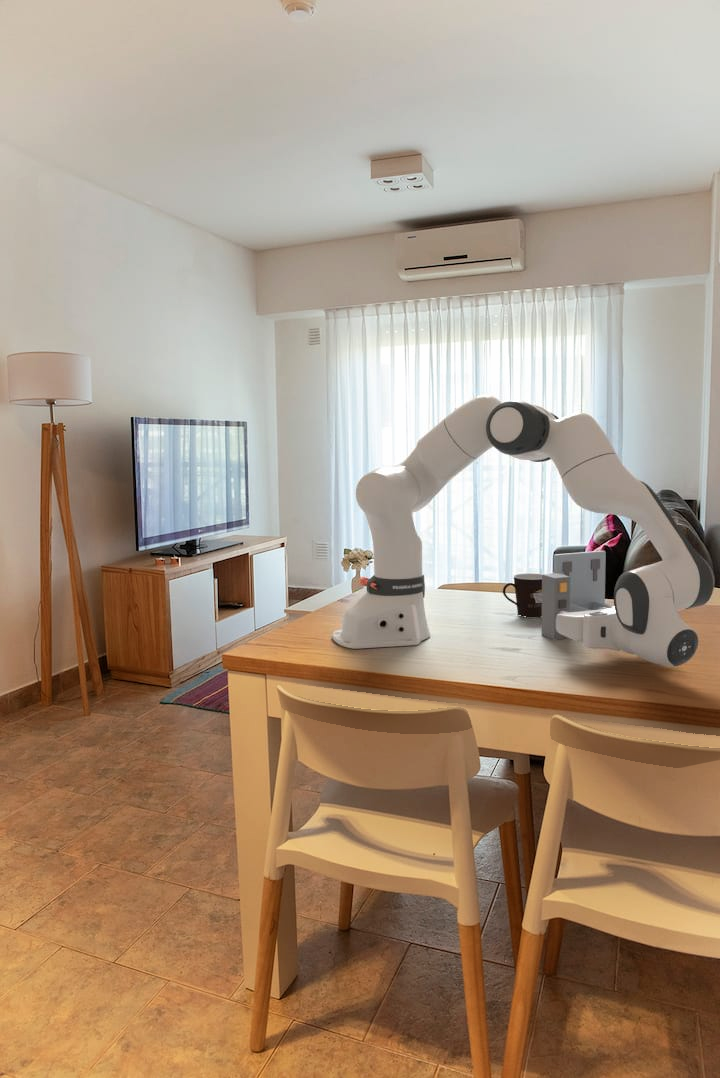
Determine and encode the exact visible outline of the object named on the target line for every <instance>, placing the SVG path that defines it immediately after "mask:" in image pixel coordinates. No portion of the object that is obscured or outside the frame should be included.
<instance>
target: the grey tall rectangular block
mask: <svg viewBox="0 0 720 1078" xmlns="http://www.w3.org/2000/svg"><path fill="white" fill-rule="evenodd" d="M561 611H568V612H570V577H569V576H566V575H562V574H558V573H554V574H553V573H546V574H545V573H544V574H543V575H542V617H541V634H542V635H541V636H543V635H544V636H543V637H545V636H546V638H548V637H549V639H550V638H551V639H550V640H553V639H554V640H553V641H556V640H555V639H559V640H565V639H564V638H567V639H569V638H568V637H566V636H564V635H562V634H560V633H558V632H557V630H556V616H557V614H560V612H561Z"/></svg>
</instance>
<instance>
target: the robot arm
mask: <svg viewBox="0 0 720 1078" xmlns="http://www.w3.org/2000/svg"><path fill="white" fill-rule="evenodd" d="M492 448H495V449H496V450H498V452H500V453H502V454H504V455H508V456H509V457H512V458H514V459H518V460H521V461H523V460H524V461H530V462H534V463H535V462H536V463H541V462H547V461H550V460H551V461H552V462H553V463H554V465H555V467H556V469H557V471H558V474H559V475H560V478H561V480H562V483H563V484H564V487H565V489H566V493H568V495H569V496H570V498H571V500H572V501H573V503H575V505H577V506H578V507H579V508H582V509H584V510H586V511H588V512H593V513H596V514H605V515H615V516H619V517H624V518H627V519H629V520H632V521H633V522H635V523H636V524H637V525H638V526H639V527H641V529H642V530H643V532H644V533H645V535H646V536H647V538H648V539H649V541H650V542H651V544H652V546H653V547H654V548H655V550H656V551H657V553H658V554H659V556H660V557H661V560H660V561H657V562H653V563H652V564H648V565H643V566H640V567H637V568H634V569H631V570H628V571H625V572H623V573H621V575H620V576H619V577H618V578H617V581H616V583H615V586H614V592H613V605H612V606H613V607H612V608H606V607H600V608H598V610H589V611H580V612H568V611H561V612H560V614H557V616H556V630H557V632H558V633H560V634H562V635H564V636H566V637H568V638H567V639H570V640H573V641H575V642H581V643H582V644H583V645H582V646H583V647H585V648H588V649H609V650H613V651H622V652H623V653H626V654H629V655H635V656H637V657H638V658H639V659H642V660H644V661H647V662H650V663H652V664H656V665H659V666H665V667H672V668H673V667H674V668H675V667H679V666H682V665H683V664H686V663H687V662H688V661H690V660H691V659H692V658H693V657H694V655H695V653H696V652H697V650H698V647H699V635H698V633H697V632H696V631H695V630H694V629H693V628H692V627H691V626H689V625H688V624H686V622H685V621H684V620H683V619H682V617H681V615H680V614H679V613H678V612H680V611H683V610H689V609H693V608H697V607H701V606H704V605H706V604H707V603H708V602H709V600H710V599H711V598H712V594H713V593H714V589H715V584H716V582H715V581H716V579H715V574H714V571H713V569H712V567H711V566H710V564H709V563H708V562H707V561H706V560H705V558H703V556H702V555H701V554H699V552H698V551H697V550H696V549H695V548H694V547H693V545H692V543H690V541H689V539H687V537H686V536H685V534H684V533H683V531H682V529H681V528H680V527H679V525H678V524H677V522H676V521H675V520H674V518H673V517H672V515H671V514H670V512H669V511H668V509H667V508H666V506H665V505H664V503H663V502H662V500H661V499H660V498H659V496H658V495H657V493H656V492H655V491H654V490H653V489H652V487H650V486H649V485H648V484H647V483H645V482H644V481H642V480H640V479H638V478H636V477H635V476H634V475H633V474H632V473H631V472H630V471H629V470H628V469H627V467H625V466H624V465H623V463H622V461H621V460H620V458H619V457H618V454H617V452H616V451H615V448H614V446H613V445H612V443H611V441H610V440H609V438H608V437H607V435H606V433H605V431H604V430H603V429H602V428H601V425H599V423H598V422H597V421H596V420H595V418H594V417H592V416H591V415H590V414H588V413H585V412H574V413H571V414H570V413H569V414H567V415H565V416H563V417H560V418H559V417H558V416H557V415H555V414H554V413H553V412H550V411H549V410H547V409H545V408H543V407H541V406H539V405H536V404H535V405H534V404H530V403H529V402H526V401H523V400H508V401H504V402H502V401H500V400H499V399H498V398H497V397H495V396H492V395H490V394H481V395H480V394H479V395H477V396H476V397H474V398H472V399H470V400H468V401H467V402H465V403H464V404H462V405H461V406H459V407H458V408H456V409H455V410H453V411H452V412H451V413H450V414H448V415H447V416H446V417H445V418H443V419H442V420H441V421H440V422H438V424H436V425H435V426H434V427H433V428H432V429H431V430H430V431H428V432H427V433H426V434H424V435H423V437H421V438H420V439H419V440H418V442H417V443H416V446H415V448H414V449H413V450H412V452H411V453H410V454H409V456H408V457H407V458H405V460H403V462H401V463H399V464H397V465H395V466H387V467H378V468H375V469H373V470H371V471H369V472H368V473H366V474H365V475H363V476H362V477H361V478H360V479H359V481H358V483H357V484H356V487H355V499H356V503H357V504H358V506H359V508H360V509H361V510H362V512H363V513H364V514H365V517H366V521H367V523H368V526H369V530H370V533H371V539H372V547H373V549H372V550H373V570H374V571H373V572H374V573H373V575H372V576H371V577H370V578H367V577H366V576H361V577H360V579H359V584H360V585H361V586H363V587H366V593H364V594H363V595H362V596H361V597H360V598H358V600H356V601H355V602H353V604H351V605H350V606H349V607H348V608H346V610H344V612H343V613H344V614H343V616H342V623H341V624H342V625H341V629H337V630H334V631H333V632H332V640H333V641H334V642H335V643H337V644H338V645H339V646H341V647H344V648H348V649H371V648H373V649H375V648H388V647H404V646H405V647H406V646H418V645H419V644H421V642H422V641H424V640H426V639H427V640H428V638H430V637H431V632H430V628H429V626H428V622H427V621H428V620H427V616H426V609H425V602H424V601H425V600H424V599H425V595H426V594H425V592H426V585H425V584H426V583H425V575H424V573H423V541H422V539H421V537H420V535H418V533H417V530H416V526H415V522H414V519H413V518H414V517H413V513H416V512H418V511H421V510H422V509H423V508H424V507H426V506H427V505H429V503H430V502H432V500H433V499H434V498H435V497H436V496H437V495H438V494H439V493H440V492H441V491H442V489H444V488H445V486H446V485H447V484H448V483H449V482H450V481H451V480H452V479H454V478H455V477H456V476H458V474H460V473H461V472H463V470H465V469H466V468H467V467H469V465H471V464H472V463H473V462H474V461H476V460H477V459H479V458H480V457H482V455H483V454H485V453H486V452H487V451H488V450H490V449H492Z"/></svg>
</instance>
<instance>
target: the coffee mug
mask: <svg viewBox="0 0 720 1078" xmlns="http://www.w3.org/2000/svg"><path fill="white" fill-rule="evenodd" d="M542 575H543V574H542V573H517V574H514V575H513V582H514V583H512V582H508V583H507V584H505V585H504V586H503V587H502V595H503V596H504V597H505V599H507V601H509V602H511V603H512V604H514V605H515V606H516V608H517V616H518V615H521V616H526V617H539V618H542V617H541V616H542ZM509 586H512V587H513V588H514V590H515V591H514V592H515V600H516V601H515V600H513V599H511V598H509V596H508V595H507V593H506V589H507V588H508V587H509Z"/></svg>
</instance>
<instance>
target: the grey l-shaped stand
mask: <svg viewBox="0 0 720 1078" xmlns="http://www.w3.org/2000/svg"><path fill="white" fill-rule="evenodd" d="M606 553H607V552H606V551H605V550H593V551H579V552H568V553H555V554H553V558H552V559H553V566H552V567H553V570H552V571H553V572H552V574H554V573H558V574H562V575H566V576H569V577H570V612H580V611H589V610H598V608H600V607H606V608H612V607H613V606H614V605H611V604H608V603H606V602H605V600H606V598H605V597H606V557H607V555H606Z"/></svg>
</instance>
